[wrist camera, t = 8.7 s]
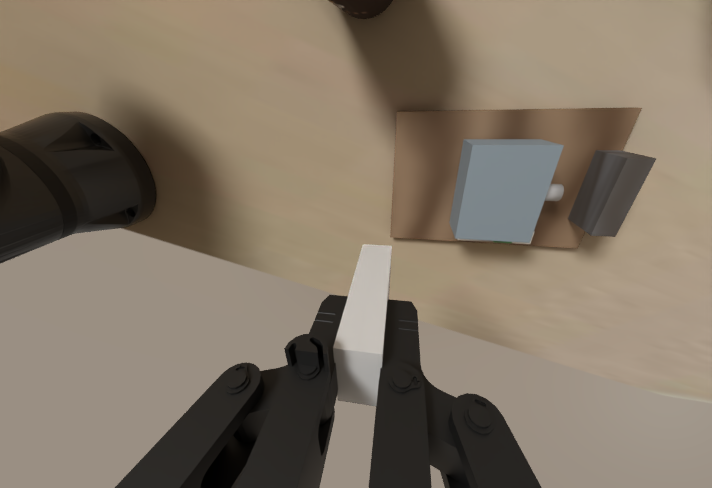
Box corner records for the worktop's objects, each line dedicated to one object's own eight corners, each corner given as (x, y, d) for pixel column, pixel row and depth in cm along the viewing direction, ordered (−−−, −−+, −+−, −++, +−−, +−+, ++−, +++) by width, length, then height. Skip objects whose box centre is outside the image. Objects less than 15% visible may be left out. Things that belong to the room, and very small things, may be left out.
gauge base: (390, 233, 33) (388, 253, 29) (397, 111, 26) (395, 113, 22) (572, 244, 30) (600, 268, 25) (633, 107, 23) (685, 108, 19)
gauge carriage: (446, 236, 30) (452, 253, 27) (463, 139, 25) (472, 144, 22) (529, 241, 29) (545, 259, 26) (564, 139, 24) (591, 145, 20)
